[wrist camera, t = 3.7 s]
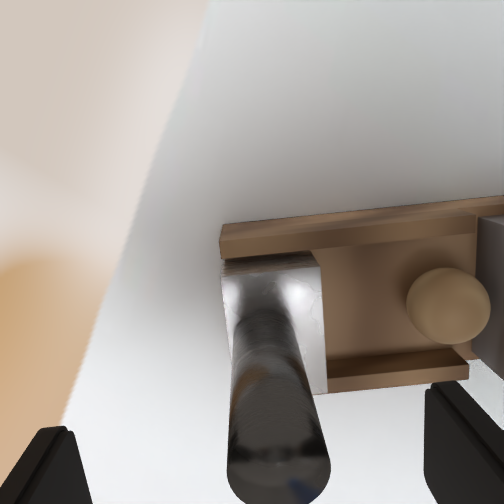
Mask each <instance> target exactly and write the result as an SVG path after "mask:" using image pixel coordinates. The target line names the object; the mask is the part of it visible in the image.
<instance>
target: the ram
mask: <svg viewBox="0 0 504 504" xmlns="http://www.w3.org/2000/svg"><path fill="white" fill-rule="evenodd" d="M220 279H221V287H222V295H223V302H224V310H225V318H226V326H227V333H228V341H229V349H230V357H231V364H232V374H231V394H230V414H229V434H228V454H227V478H228V482H229V485H230V487H231V489H232V490H233V492H234V493H235V495H236V496H237V497H238V498H239V499H240V500H241V501H243V502H244V503H246V504H309V503H310V502H312V501H313V500H314V499H316V498H317V497H318V496H319V495H320V494H321V493H322V491H323V490H324V488H325V487H326V485H327V483H328V480H329V477H330V472H331V464H330V458H329V455H328V451H327V447H326V444H325V440H324V436H323V433H322V429H321V425H320V422H319V418H318V414H317V411H316V407H315V404H314V400H313V396H312V395H314V394H323V393H328V389H327V372H326V355H325V338H324V321H323V304H322V287H321V270H320V265H319V264H318V262H317V260H316V259H315V257H314V256H313V254H312V252H311V251H310V250H305V251H295V252H285V253H276V254H266V255H256V256H247V257H237V258H227V259H223V263H222V269H221V275H220Z"/></svg>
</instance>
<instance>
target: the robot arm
mask: <svg viewBox="0 0 504 504" xmlns="http://www.w3.org/2000/svg"><path fill="white" fill-rule="evenodd" d="M424 477H425V480H426V483H427V485H428V487H429V489H430V491H431V493H432V495H433V496H434V498H435V500H436V502H437V503H438V504H504V430H502V429H501V428H500V427H499V426H498V425H497V424H496V423H495V422H494V421H493V420H492V419H491V417H490V416H489V415H488V414H487V413H486V412H485V411H484V410H483V409H482V408H481V407H480V406H479V405H478V403H477V402H476V401H475V400H474V399H473V398H472V397H471V396H470V395H469V394H468V393H467V392H466V391H465V389H464V388H463V387H462V386H461V385H460V384H459V383H458V382H457V381H454V380H451V381H443V382H434V383H432V385H431V389H427V390H426V391H425V418H424ZM0 504H93V503H92V499H91V496H90V492H89V488H88V484H87V480H86V477H85V473H84V469H83V465H82V461H81V458H80V454H79V450H78V446H77V442H76V439H75V435H74V433H73V431H68V430H67V428H66V427H65V426H56V427H47V428H41V429H40V430H39V431H38V432H37V433H36V435H35V436H34V438H33V439H32V441H31V442H30V444H29V445H28V447H27V448H26V450H25V451H24V453H23V454H22V456H21V457H20V459H19V460H18V462H17V463H16V465H15V466H14V468H13V469H12V471H11V472H10V474H9V475H8V477H7V478H6V480H5V481H4V483H3V484H2V486H1V487H0Z"/></svg>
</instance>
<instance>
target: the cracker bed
mask: <svg viewBox="0 0 504 504" xmlns="http://www.w3.org/2000/svg"><path fill="white" fill-rule="evenodd" d="M219 245H220V253H221V259H227V258H237V257H247V256H256V255H266V254H276V253H285V252H295V251H305V250H310V251H311V252H312V254H313V256H314V257H315V259H316V260H317V262H318V264H319V265H320V270H321V287H322V304H323V321H324V338H325V355H326V372H327V389H328V393H323V394H329V393H339V392H349V391H359V390H369V389H379V388H388V387H398V386H408V385H418V384H428V383H434V382H443V381H451V380H454V381H457V380H467V379H469V364H468V363H467V362H466V361H465V360H474V359H481V360H482V361H483V362H484V363H485V364H486V365H487V366H488V367H489V368H491V369H492V370H493V371H494V372H495V373H496V374H497V375H498V376H499V377H500V378H502V379H503V380H504V195H503V196H493V197H483V198H474V199H464V200H454V201H445V202H435V203H426V204H416V205H406V206H397V207H387V208H377V209H368V210H358V211H349V212H339V213H329V214H320V215H310V216H301V217H291V218H281V219H272V220H262V221H252V222H243V223H233V224H224V225H223V227H222V231H221V235H220V239H219ZM447 267H448V268H455V269H460V270H462V271H465V272H467V273H469V274H471V275H472V276H474V277H475V278H476V279H477V280H478V281H479V282H480V283H481V284H482V285H483V286H484V288H485V289H486V291H487V293H488V296H489V299H490V305H491V311H490V317H489V320H488V322H487V324H486V326H485V328H484V329H483V330H482V331H481V332H480V333H479V334H478V335H477V336H476V337H474V338H472V339H471V340H468V341H466V342H463V343H458V344H443V343H439V342H436V341H433V340H431V339H429V338H427V337H425V336H424V335H422V334H421V333H420V332H419V331H418V330H417V329H416V328H415V327H414V325H413V324H412V322H411V321H410V318H409V316H408V313H407V307H406V299H407V295H408V292H409V289H410V287H411V285H412V284H413V282H414V281H415V280H416V279H417V278H418V277H419V276H421V275H422V274H424V273H426V272H428V271H430V270H433V269H436V268H447ZM314 395H319V394H314Z"/></svg>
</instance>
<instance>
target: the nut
mask: <svg viewBox="0 0 504 504" xmlns="http://www.w3.org/2000/svg"><path fill="white" fill-rule="evenodd" d="M406 307H407V313H408V316H409V318H410V321H411V322H412V324H413V325H414V327H415V328H416V329H417V330H418V331H419V332H420V333H421V334H422V335H424V336H425V337H427V338H429V339H431V340H433V341H436V342H439V343H443V344H458V343H463V342H466V341H468V340H471V339H472V338H474V337H476V336H477V335H478V334H479V333H480V332H481V331H482V330H483V329H484V328H485V326H486V324H487V322H488V320H489V317H490V311H491V305H490V299H489V296H488V293H487V291H486V289H485V288H484V286H483V285H482V284H481V283H480V282H479V281H478V280H477V279H476V278H475V277H474V276H472V275H471V274H469V273H467V272H465V271H462V270H460V269H455V268H448V267H447V268H436V269H433V270H430V271H428V272H426V273H424V274H422V275H421V276H419V277H418V278H417V279H416V280H415V281H414V282H413V284H412V285H411V287H410V289H409V292H408V295H407V299H406Z"/></svg>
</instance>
